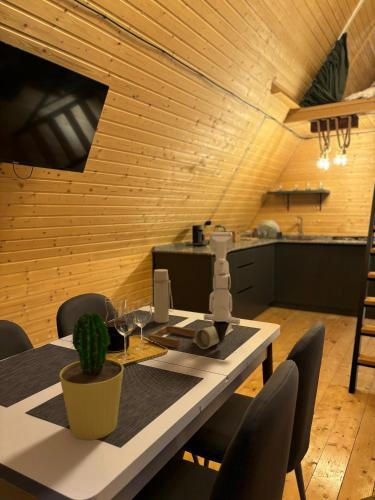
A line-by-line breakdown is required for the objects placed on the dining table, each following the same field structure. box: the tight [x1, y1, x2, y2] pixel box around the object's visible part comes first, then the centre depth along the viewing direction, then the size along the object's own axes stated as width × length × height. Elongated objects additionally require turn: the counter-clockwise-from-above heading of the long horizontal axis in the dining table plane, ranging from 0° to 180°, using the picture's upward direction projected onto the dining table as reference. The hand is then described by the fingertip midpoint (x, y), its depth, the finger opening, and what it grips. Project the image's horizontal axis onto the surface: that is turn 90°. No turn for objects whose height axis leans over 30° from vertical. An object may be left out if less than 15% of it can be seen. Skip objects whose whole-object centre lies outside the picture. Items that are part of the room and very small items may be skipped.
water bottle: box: [153, 268, 174, 324], centre depth 184 cm, size 9×8×25 cm
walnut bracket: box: [147, 324, 197, 349], centre depth 161 cm, size 15×14×3 cm
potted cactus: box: [59, 311, 125, 441], centre depth 95 cm, size 15×15×30 cm
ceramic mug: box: [192, 326, 220, 350], centre depth 154 cm, size 11×8×8 cm
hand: (221, 340), depth 150 cm, fingers closed
